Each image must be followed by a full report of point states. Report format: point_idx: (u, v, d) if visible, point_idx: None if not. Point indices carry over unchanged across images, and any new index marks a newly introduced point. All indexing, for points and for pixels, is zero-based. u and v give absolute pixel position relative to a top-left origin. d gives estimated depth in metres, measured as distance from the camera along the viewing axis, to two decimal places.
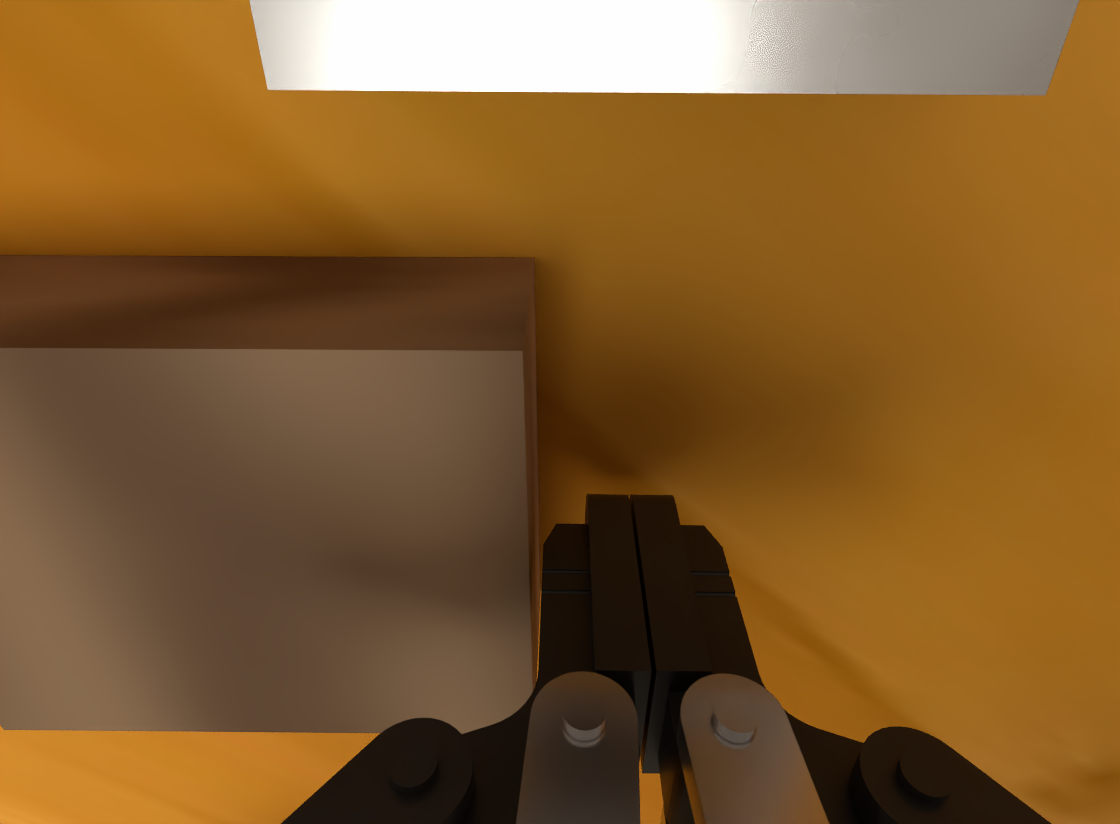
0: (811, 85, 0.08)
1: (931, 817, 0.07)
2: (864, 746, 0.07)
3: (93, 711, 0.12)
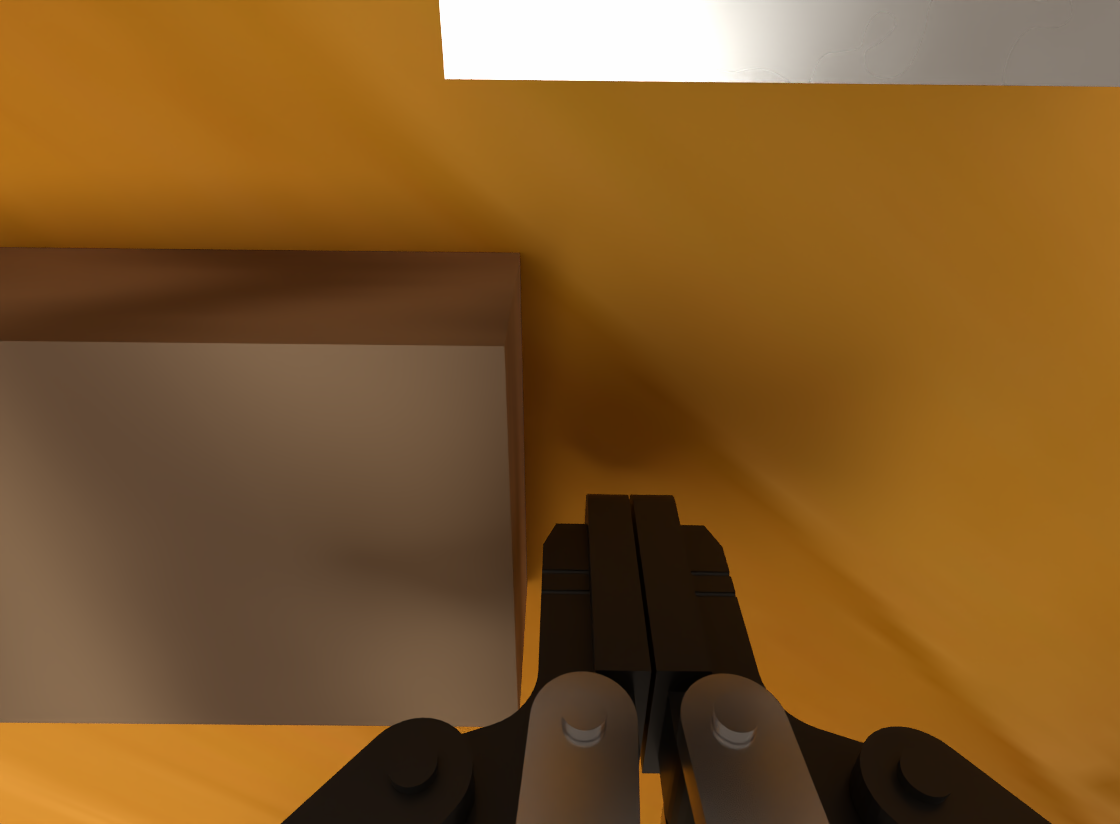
0: (980, 77, 0.08)
1: (931, 817, 0.07)
2: (864, 746, 0.07)
3: (79, 703, 0.12)
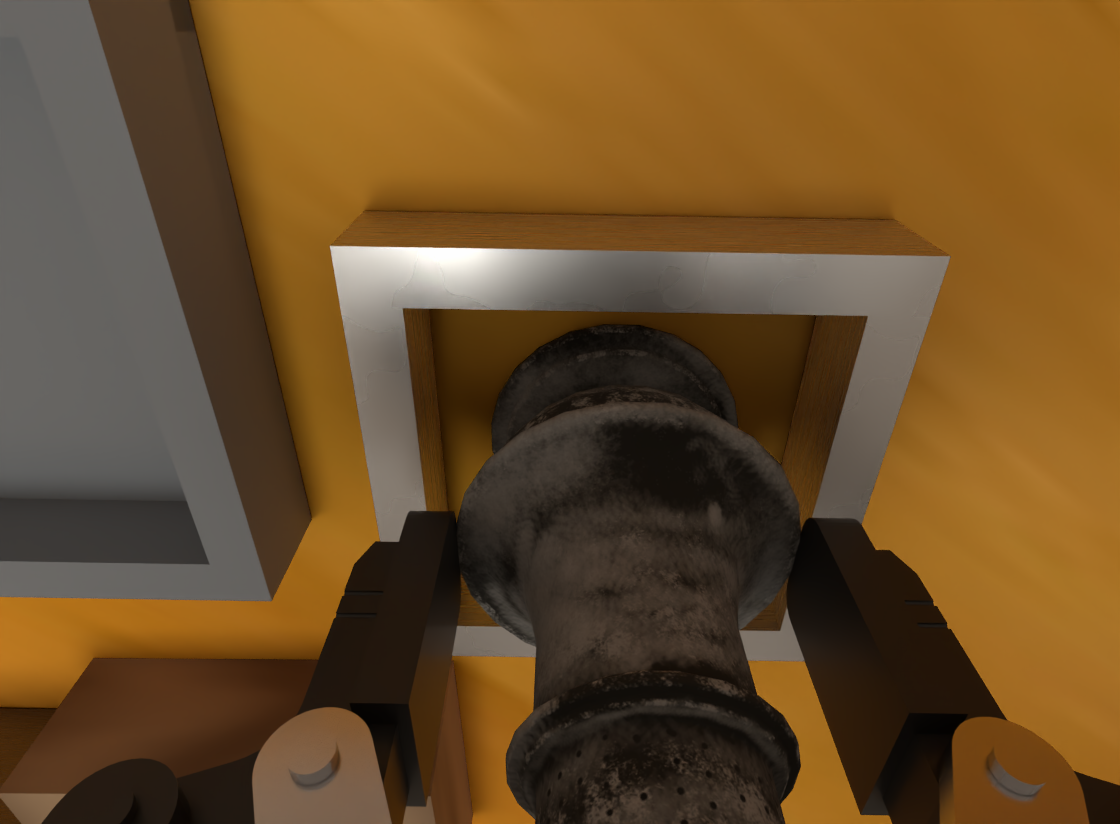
0: None
1: None
2: None
3: None
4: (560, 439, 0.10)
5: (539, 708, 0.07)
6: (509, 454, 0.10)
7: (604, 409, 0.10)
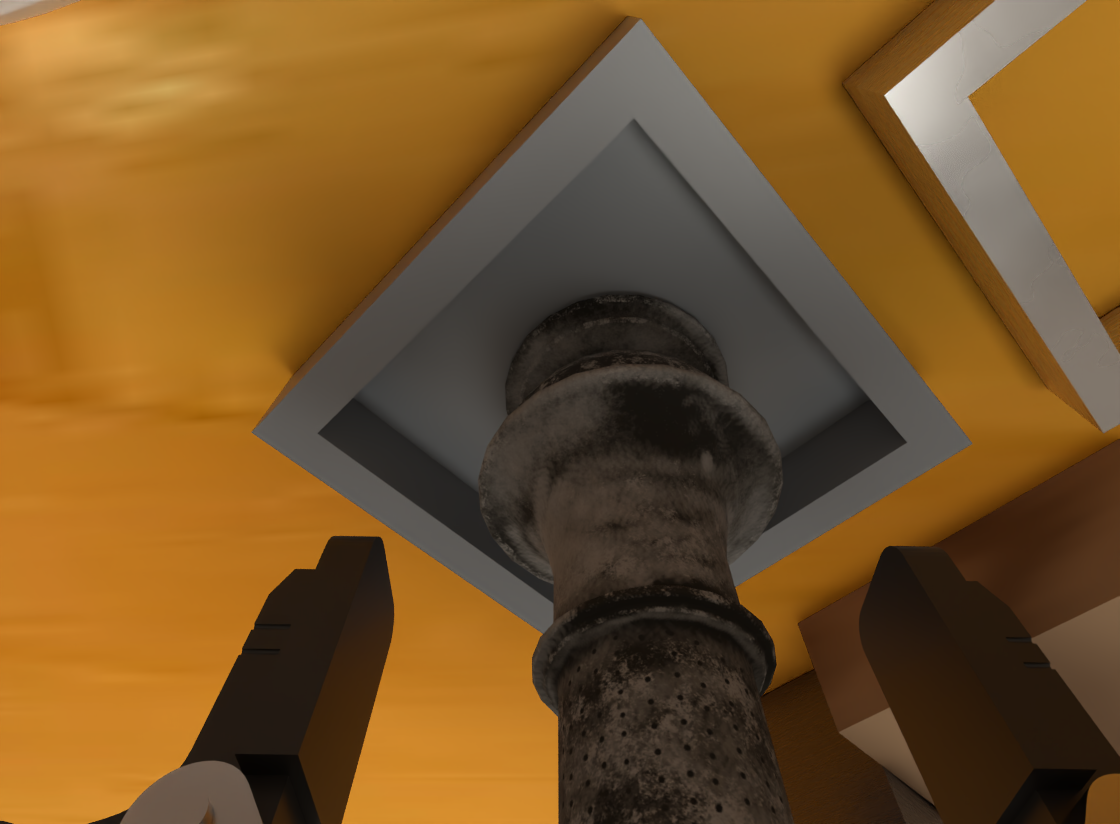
0: None
1: None
2: None
3: None
4: (571, 398, 0.11)
5: (560, 617, 0.09)
6: (527, 411, 0.12)
7: (610, 370, 0.11)
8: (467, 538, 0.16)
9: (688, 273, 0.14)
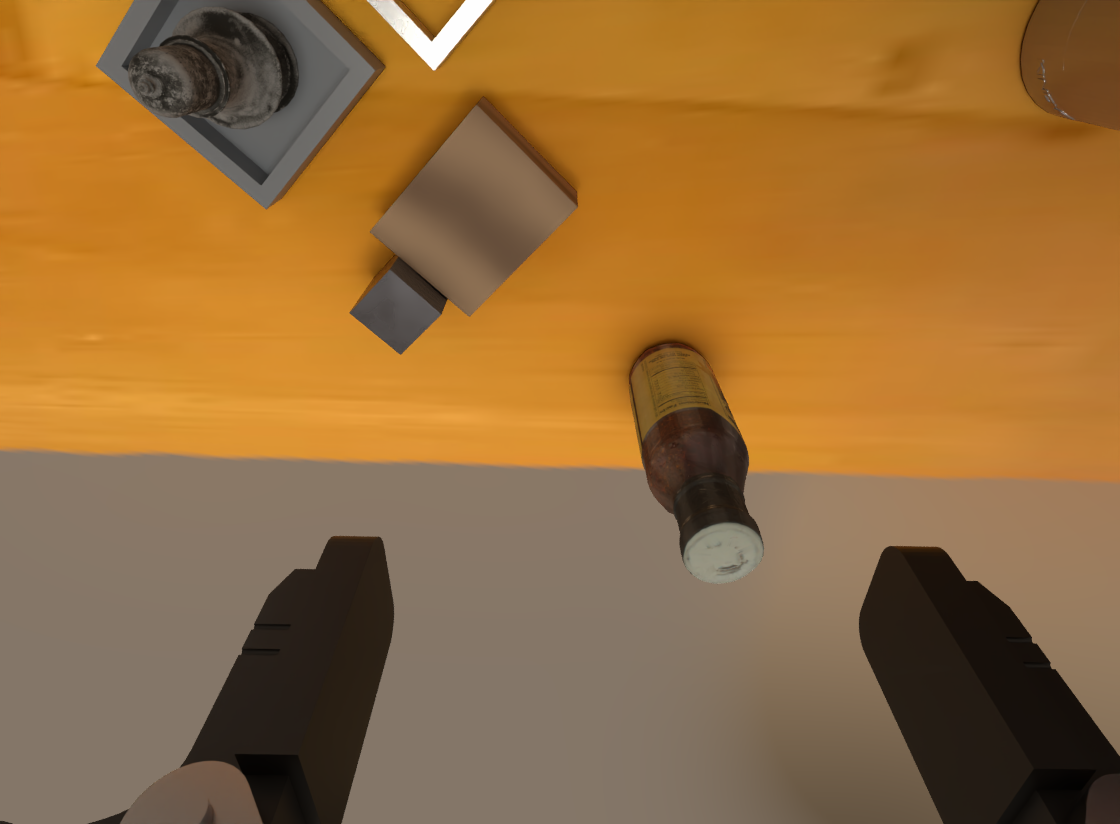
0: None
1: None
2: None
3: (481, 291, 0.43)
4: (191, 18, 0.34)
5: None
6: (178, 25, 0.34)
7: (202, 7, 0.34)
8: (192, 125, 0.39)
9: (265, 4, 0.37)
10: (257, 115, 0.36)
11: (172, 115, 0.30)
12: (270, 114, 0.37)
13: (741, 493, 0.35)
